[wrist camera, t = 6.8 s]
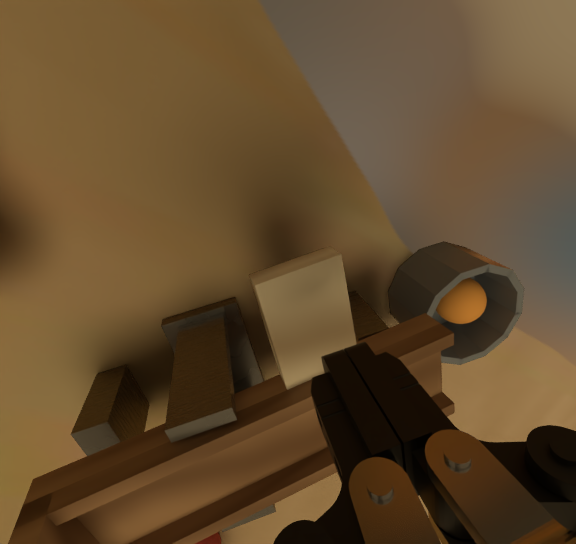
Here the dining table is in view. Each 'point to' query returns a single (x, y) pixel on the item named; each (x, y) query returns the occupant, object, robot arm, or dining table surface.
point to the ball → (463, 302)
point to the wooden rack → (191, 380)
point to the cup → (444, 277)
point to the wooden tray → (231, 429)
